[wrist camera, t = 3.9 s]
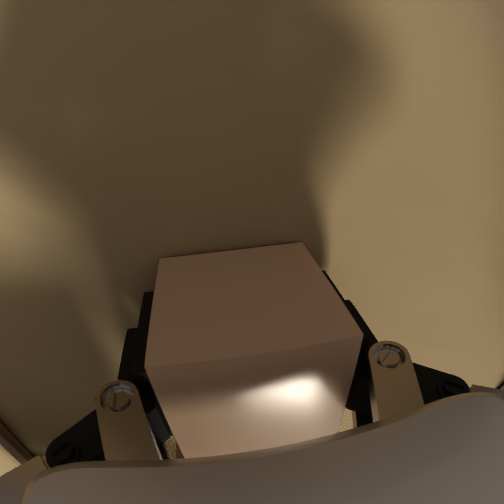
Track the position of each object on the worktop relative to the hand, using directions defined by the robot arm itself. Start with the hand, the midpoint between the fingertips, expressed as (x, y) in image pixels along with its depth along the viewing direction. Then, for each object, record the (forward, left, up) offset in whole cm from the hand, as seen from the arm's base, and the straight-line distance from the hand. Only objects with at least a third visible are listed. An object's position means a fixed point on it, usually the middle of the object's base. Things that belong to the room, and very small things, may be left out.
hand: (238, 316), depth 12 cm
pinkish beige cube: (0, 0, -1) cm, 1 cm away
